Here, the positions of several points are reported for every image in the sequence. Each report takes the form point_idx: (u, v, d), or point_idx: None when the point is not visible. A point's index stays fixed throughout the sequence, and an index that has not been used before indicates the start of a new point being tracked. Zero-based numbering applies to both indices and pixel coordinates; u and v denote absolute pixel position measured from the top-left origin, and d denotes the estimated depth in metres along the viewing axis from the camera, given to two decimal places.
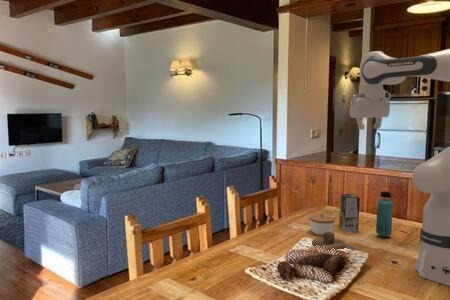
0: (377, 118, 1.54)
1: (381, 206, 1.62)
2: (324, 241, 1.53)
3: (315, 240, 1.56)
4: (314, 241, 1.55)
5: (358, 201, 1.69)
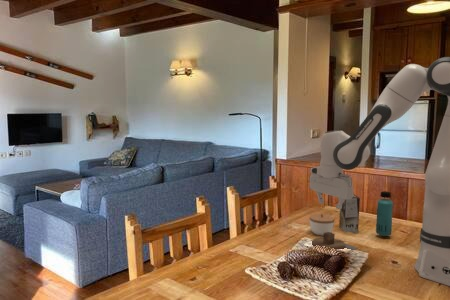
0: (320, 192, 1.55)
1: (381, 206, 1.62)
2: (324, 241, 1.53)
3: (315, 240, 1.56)
4: (314, 241, 1.55)
5: (358, 201, 1.69)
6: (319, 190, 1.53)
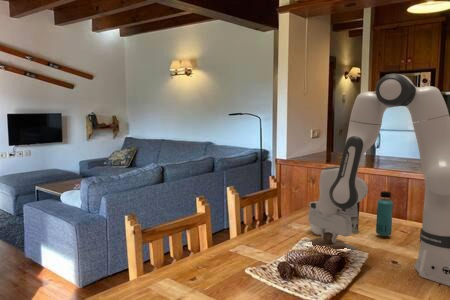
0: (324, 228, 1.54)
1: (381, 206, 1.62)
2: (324, 241, 1.53)
3: (315, 240, 1.56)
4: (314, 241, 1.55)
5: None
6: (318, 225, 1.55)
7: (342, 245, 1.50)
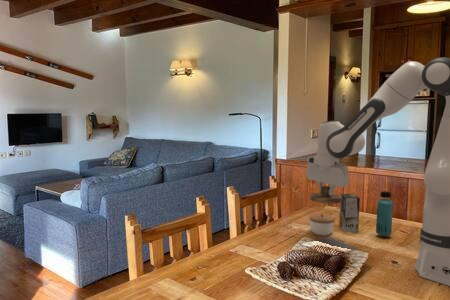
0: (321, 182, 1.58)
1: (381, 206, 1.62)
2: (321, 194, 1.57)
3: (313, 194, 1.60)
4: (312, 195, 1.59)
5: (358, 201, 1.69)
6: (316, 179, 1.59)
7: (339, 198, 1.54)
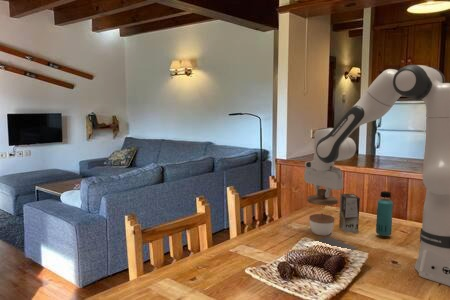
0: None
1: (381, 206, 1.62)
2: (318, 197, 1.67)
3: (310, 196, 1.70)
4: (309, 197, 1.69)
5: (358, 201, 1.69)
6: (313, 182, 1.69)
7: (334, 200, 1.64)
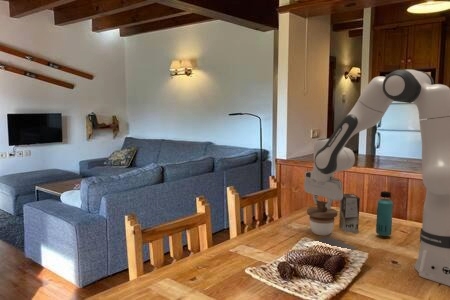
0: (316, 195, 1.70)
1: (381, 206, 1.62)
2: (318, 209, 1.67)
3: (310, 209, 1.70)
4: (309, 209, 1.69)
5: (358, 201, 1.69)
6: (312, 192, 1.69)
7: (334, 212, 1.65)
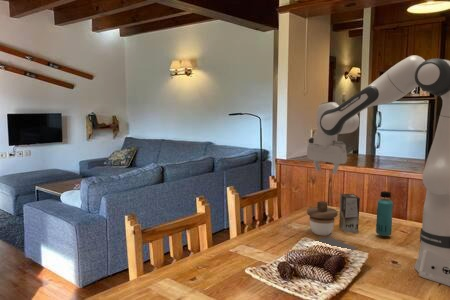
0: (317, 161, 1.69)
1: (381, 206, 1.62)
2: (318, 209, 1.67)
3: (310, 209, 1.70)
4: (309, 209, 1.69)
5: (358, 201, 1.69)
6: (316, 158, 1.67)
7: (334, 212, 1.65)
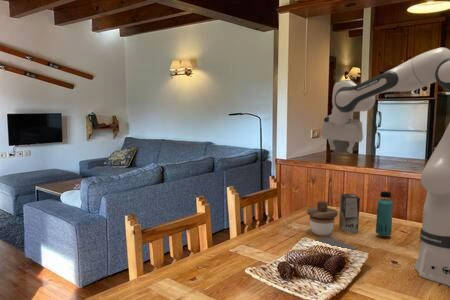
0: (332, 140, 1.69)
1: (381, 206, 1.62)
2: (318, 209, 1.67)
3: (310, 209, 1.70)
4: (309, 209, 1.69)
5: (358, 201, 1.69)
6: (331, 137, 1.67)
7: (334, 212, 1.65)
